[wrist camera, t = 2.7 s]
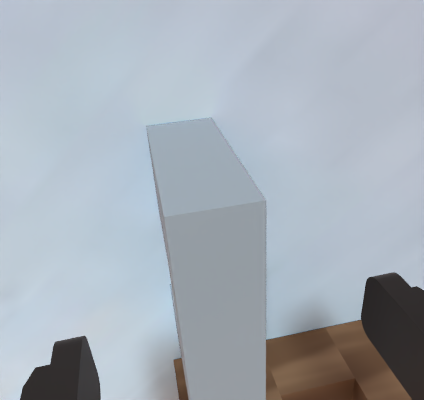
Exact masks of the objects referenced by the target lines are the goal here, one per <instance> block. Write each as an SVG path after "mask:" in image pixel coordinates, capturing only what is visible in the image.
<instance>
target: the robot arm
mask: <svg viewBox="0 0 424 400" xmlns="http://www.w3.org/2000/svg"><path fill="white" fill-rule="evenodd" d="M361 321H362V326H363V329H364V331H365V333H366V335H367V337H368V339H369V340H370V341H371V343H372V344H373V346H374V347H375V348H376V350H377V351H378V353H379V354H380V355H381V357H382V358H383V360H384V361H385V362H386V364H387V365H388V367H389V368H390V369H391V371H392V372H393V374H394V375H395V376H396V378H397V379H398V381H399V382H400V383H401V385H402V386H403V388H404V389H405V390H406V392H407V393H408V395H409V396H410V397H411V399H412V400H424V290H422V289H420V288H419V287H417V286H416V287H412V288H411V287H410V286H409V285H408V284H407V283H406V282H405V280H404V279H403V278H402V277H401V276H400V275H398V274H397V273H388V274H383V275H379V276H374V277H369V278H368V279H367V281H366V286H365V293H364V300H363V306H362V313H361ZM100 398H101V396H100V383H99V377H98V373H97V369H96V366H95V363H94V360H93V357H92V354H91V350H90V347H89V344H88V341H87V338H86V337H85V336H81V337H76V338H71V339H67V340H62V341H57V342H55V344H54V346H53V352H52V358H51V364H50V365H46V366H41V367H36V368H35V369H34V371H33V372H32V374H31V376H30V377H29V379H28V380H27V382H26V383H25V385H24V386H23V389H22V394H21V398H20V400H100Z"/></svg>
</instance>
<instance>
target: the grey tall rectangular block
mask: <svg viewBox="0 0 424 400" xmlns="http://www.w3.org/2000/svg"><path fill="white" fill-rule="evenodd" d="M146 128H147V134H148V141H149V148H150V154H151V161H152V167H153V174H154V181H155V187H156V194H157V200H158V207H159V214H160V219H161V225H162V231H163V236H164V242H165V247H166V253H167V259H168V265H169V271H170V278H171V284H170V286H171V293H172V300H173V306H174V313H175V320H176V326H177V333H178V339H179V346H180V351H181V357H182V363H183V369H184V375H185V381H186V387H187V393H188V399H189V400H266V199H265V198H264V196H263V195H262V193H261V192H260V190H259V189H258V187H257V186H256V184H255V183H254V181H253V180H252V178H251V177H250V175H249V174H248V172H247V171H246V169H245V168H244V166H243V165H242V163H241V162H240V160H239V159H238V157H237V156H236V154H235V153H234V151H233V150H232V148H231V146H230V145H229V143H228V142H227V140H226V139H225V137H224V136H223V134H222V133H221V131H220V130H219V128H218V127H217V125H216V124H215V122H214V121H213V119H212V118H205V119H198V120H190V121H182V122H174V123H167V124H159V125H151V126H146Z"/></svg>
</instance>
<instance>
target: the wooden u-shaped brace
mask: <svg viewBox="0 0 424 400" xmlns="http://www.w3.org/2000/svg"><path fill="white" fill-rule="evenodd" d="M174 366H175V373H176V380H177V386H178V393H179V400H189V399H188V393H187V387H186V381H185V375H184V369H183V363H182V358H180V359H175V360H174ZM266 400H412V399H411V397H410V396H409V395H408V393H407V392H406V390H405V389H404V388H403V386H402V385H401V383H400V382H399V381H398V379H397V378H396V376H395V375H394V374H393V372H392V371H391V369H390V368H389V367H388V365H387V364H386V362H385V361H384V360H383V358H382V357H381V355H380V354H379V353H378V351H377V350H376V348H375V347H374V346H373V344H372V343H371V341H370V340H369V339H368V337H367V335H366V333H365V331H364V329H363V326H362V321H361V320H358V321H354V322H349V323H344V324H340V325H335V326H330V327H326V328H321V329H316V330H312V331H307V332H302V333H297V334H293V335H288V336H283V337H279V338H274V339H269V340H266Z"/></svg>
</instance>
